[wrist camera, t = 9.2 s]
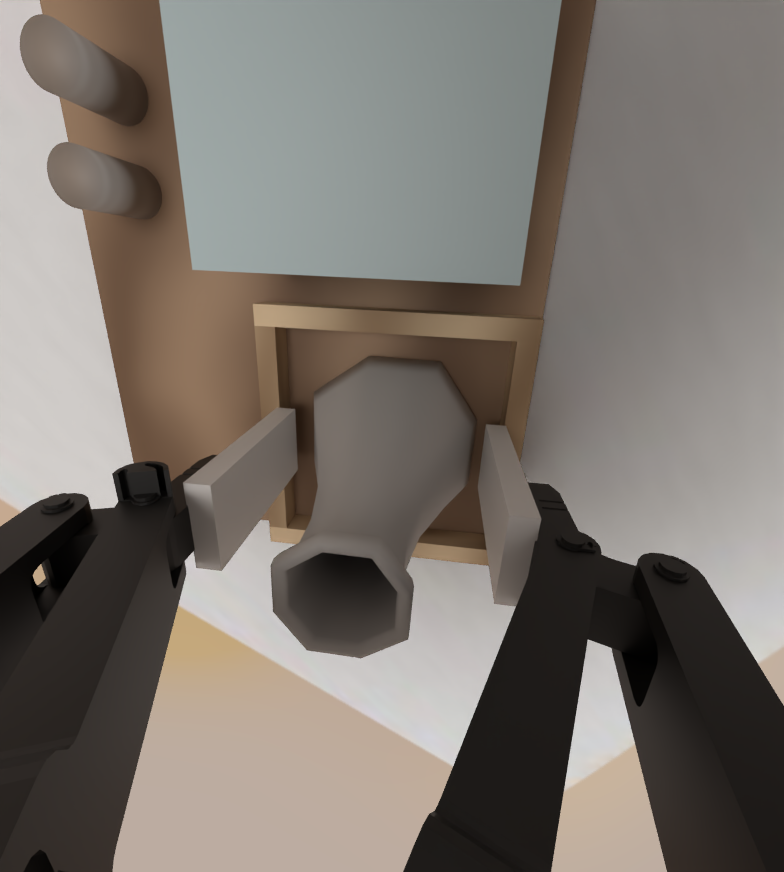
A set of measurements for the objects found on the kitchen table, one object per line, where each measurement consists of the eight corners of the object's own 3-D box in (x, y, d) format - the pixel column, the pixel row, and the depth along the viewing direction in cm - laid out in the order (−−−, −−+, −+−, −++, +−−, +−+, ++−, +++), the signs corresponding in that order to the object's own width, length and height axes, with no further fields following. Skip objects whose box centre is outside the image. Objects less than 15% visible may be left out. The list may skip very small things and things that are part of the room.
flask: (458, 332, 16) (476, 411, 7) (492, 493, 19) (538, 710, 9) (289, 374, 18) (120, 486, 9) (339, 519, 20) (250, 730, 11)
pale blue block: (528, -8, 13) (596, -242, 7) (493, 280, 15) (520, 285, 10) (268, -2, 13) (133, -210, 8) (282, 270, 16) (192, 269, 11)
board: (588, -4, 13) (646, -117, 9) (500, 536, 21) (512, 596, 17) (66, 5, 15) (-66, -88, 11) (158, 500, 23) (98, 547, 19)
